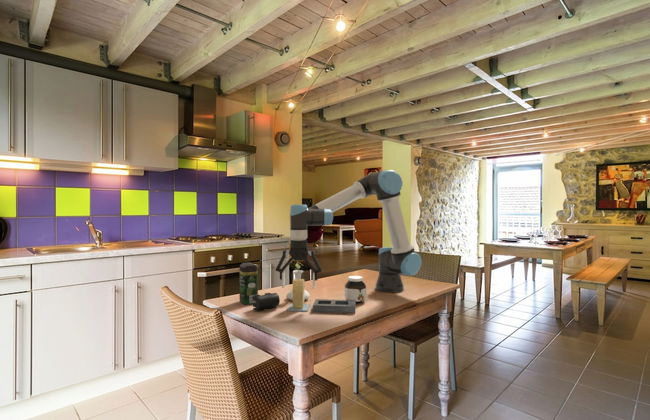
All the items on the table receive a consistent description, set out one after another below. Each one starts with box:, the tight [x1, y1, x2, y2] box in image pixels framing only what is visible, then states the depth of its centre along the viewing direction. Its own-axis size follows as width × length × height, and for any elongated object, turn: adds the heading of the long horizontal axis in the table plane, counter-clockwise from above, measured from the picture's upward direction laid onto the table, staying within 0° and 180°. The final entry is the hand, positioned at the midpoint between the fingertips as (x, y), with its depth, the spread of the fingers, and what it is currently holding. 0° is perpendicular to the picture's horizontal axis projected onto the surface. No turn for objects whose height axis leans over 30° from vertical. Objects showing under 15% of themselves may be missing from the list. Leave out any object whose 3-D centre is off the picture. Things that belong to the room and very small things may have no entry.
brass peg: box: [292, 278, 305, 309], centre depth 153 cm, size 4×4×12 cm
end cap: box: [252, 292, 281, 313], centre depth 152 cm, size 10×7×7 cm
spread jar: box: [343, 275, 367, 305], centre depth 167 cm, size 12×11×12 cm
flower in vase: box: [285, 256, 311, 301], centre depth 168 cm, size 13×11×25 cm
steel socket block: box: [312, 298, 357, 315], centre depth 152 cm, size 18×10×3 cm, turn 84°
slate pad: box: [286, 303, 311, 313], centre depth 154 cm, size 9×9×1 cm
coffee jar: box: [239, 261, 259, 306], centre depth 163 cm, size 10×8×19 cm
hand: (298, 287), depth 153 cm, fingers open, 13 cm apart
